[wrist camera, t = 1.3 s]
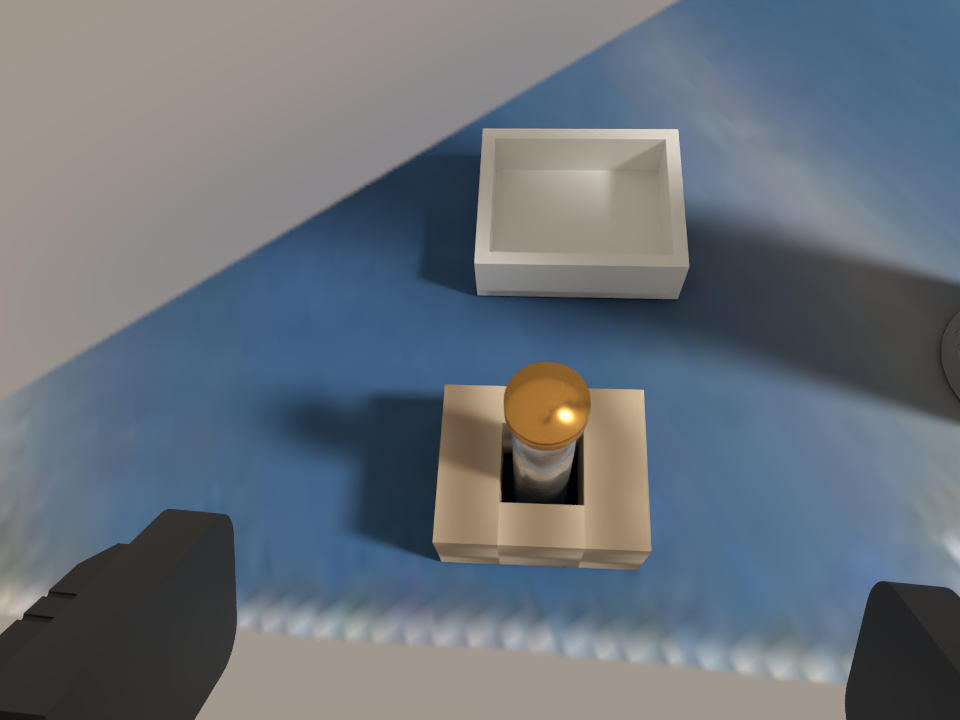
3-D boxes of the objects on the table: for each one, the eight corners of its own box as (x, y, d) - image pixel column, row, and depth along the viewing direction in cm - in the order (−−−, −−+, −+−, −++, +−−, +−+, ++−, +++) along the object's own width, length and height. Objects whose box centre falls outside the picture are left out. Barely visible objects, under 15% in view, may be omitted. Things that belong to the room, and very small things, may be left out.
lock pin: (572, 460, 41) (590, 362, 30) (572, 522, 40) (591, 443, 29) (509, 458, 41) (504, 360, 30) (507, 520, 40) (501, 440, 29)
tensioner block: (631, 422, 42) (643, 389, 38) (637, 570, 38) (651, 551, 34) (452, 417, 42) (444, 384, 38) (441, 561, 39) (432, 542, 35)
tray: (668, 167, 49) (678, 129, 46) (677, 299, 45) (689, 266, 42) (485, 166, 50) (483, 128, 47) (477, 295, 46) (474, 263, 43)
